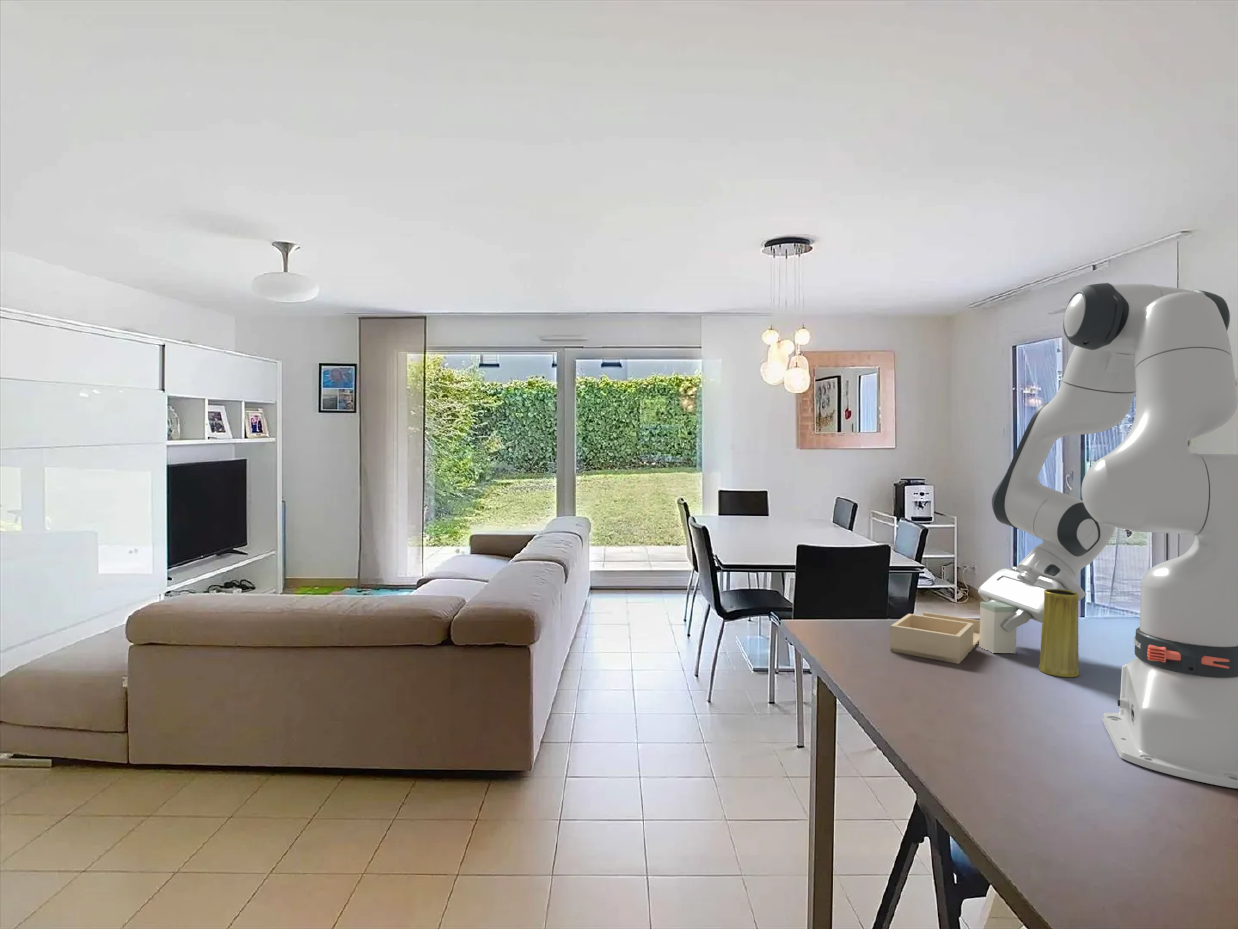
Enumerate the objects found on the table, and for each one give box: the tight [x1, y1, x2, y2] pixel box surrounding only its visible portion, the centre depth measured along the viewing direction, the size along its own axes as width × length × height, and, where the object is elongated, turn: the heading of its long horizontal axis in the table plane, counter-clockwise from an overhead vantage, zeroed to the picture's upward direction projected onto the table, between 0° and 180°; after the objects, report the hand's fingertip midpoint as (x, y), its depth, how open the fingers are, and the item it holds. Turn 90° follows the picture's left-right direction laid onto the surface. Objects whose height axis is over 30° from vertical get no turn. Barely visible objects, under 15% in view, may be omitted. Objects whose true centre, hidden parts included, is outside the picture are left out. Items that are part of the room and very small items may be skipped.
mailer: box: [889, 611, 980, 665], centre depth 142 cm, size 24×12×5 cm, turn 143°
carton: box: [978, 601, 1017, 654], centre depth 137 cm, size 4×4×9 cm
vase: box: [1038, 589, 1080, 679], centre depth 124 cm, size 6×6×14 cm
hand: (994, 625), depth 137 cm, fingers closed on carton, 4 cm apart
